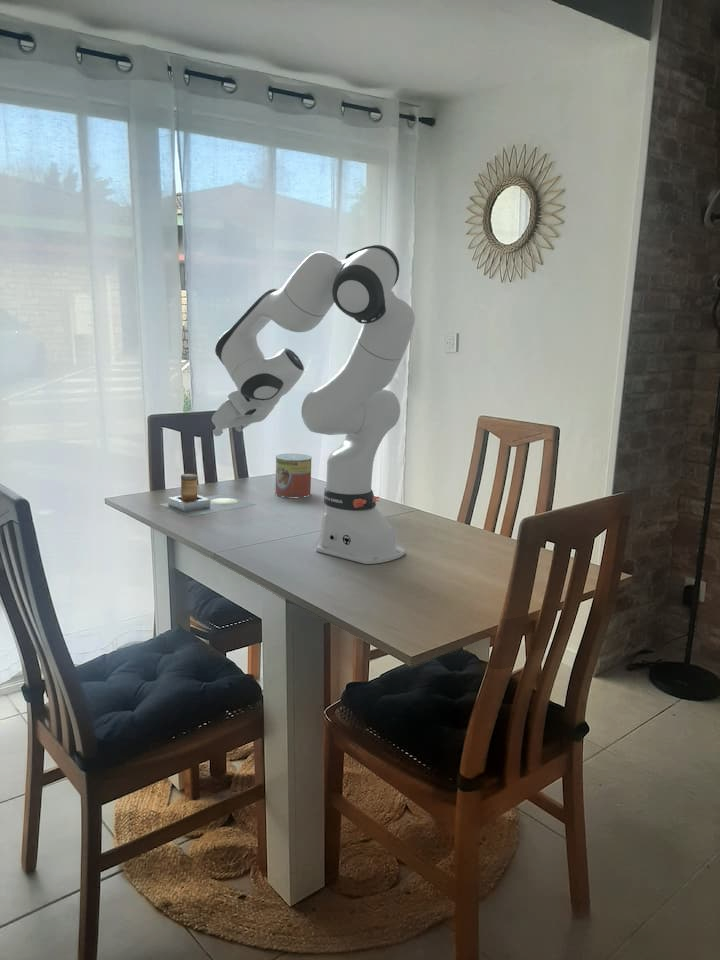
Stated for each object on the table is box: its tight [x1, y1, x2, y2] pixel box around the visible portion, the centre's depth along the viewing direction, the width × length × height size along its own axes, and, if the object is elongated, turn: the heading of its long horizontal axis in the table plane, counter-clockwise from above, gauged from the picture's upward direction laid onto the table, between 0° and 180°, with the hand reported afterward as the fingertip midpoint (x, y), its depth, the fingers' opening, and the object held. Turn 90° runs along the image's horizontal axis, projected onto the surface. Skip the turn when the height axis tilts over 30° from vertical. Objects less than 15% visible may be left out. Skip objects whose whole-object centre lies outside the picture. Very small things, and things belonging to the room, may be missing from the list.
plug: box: [180, 473, 198, 502], centre depth 204 cm, size 4×4×9 cm
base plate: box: [159, 493, 256, 518], centre depth 208 cm, size 16×22×1 cm
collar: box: [167, 494, 210, 512], centre depth 204 cm, size 8×8×2 cm
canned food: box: [274, 453, 313, 498], centre depth 229 cm, size 11×11×12 cm
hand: (226, 431), depth 193 cm, fingers open, 8 cm apart
